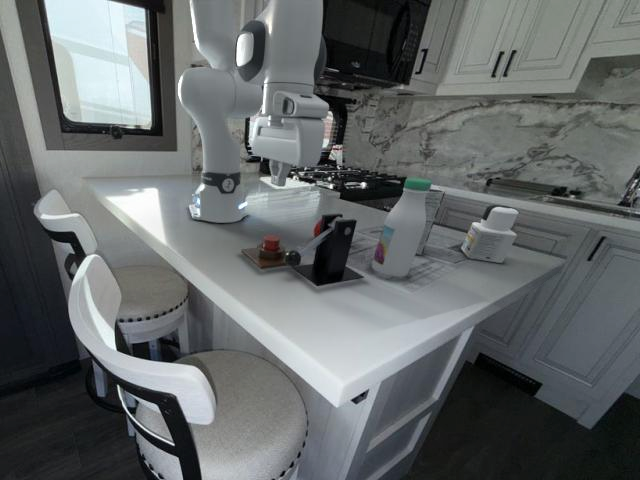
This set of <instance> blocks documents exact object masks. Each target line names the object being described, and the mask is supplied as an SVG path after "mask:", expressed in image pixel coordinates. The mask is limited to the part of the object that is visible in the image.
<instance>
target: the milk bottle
mask: <svg viewBox="0 0 640 480" xmlns="http://www.w3.org/2000/svg"><path fill="white" fill-rule="evenodd" d="M431 184H433V181H432V180H430V179H424V178H417V177H408V178H406V179H405V181H404V184H403V188H402V190H403V192H402V195H401V196H400V198H399V199H398V201H397V202H396V204H395V205H394V206H393V207H392V208H391V210H390V211H389V212H388V214H387V216H386V218H385V220H384V223H383V226H382V229H381V232H380V236H379V239H378V242H377V245H376V248H375V252H374V254H373V258H372V262H371V266H370V267H371V269H372V270H373V271H375V272H377V273H379V274H382V275H385V276H389V277H394V278H395V277H396V278H402V277H406V276H408V274H409V272H410V270H411V267H412V265H413V261H414V259H415V256H416V251H417V248H418V245H419V243H420V240H421V237H422V234H423V231H424V228H425V224H426V211H425V198H426V195H427V193H429V189H430V187H431Z"/></svg>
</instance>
